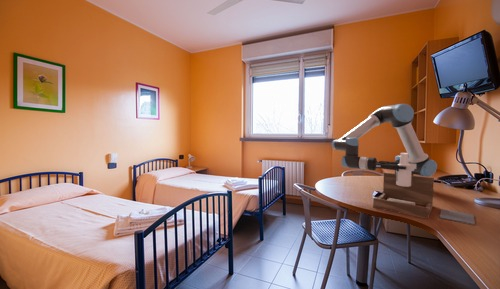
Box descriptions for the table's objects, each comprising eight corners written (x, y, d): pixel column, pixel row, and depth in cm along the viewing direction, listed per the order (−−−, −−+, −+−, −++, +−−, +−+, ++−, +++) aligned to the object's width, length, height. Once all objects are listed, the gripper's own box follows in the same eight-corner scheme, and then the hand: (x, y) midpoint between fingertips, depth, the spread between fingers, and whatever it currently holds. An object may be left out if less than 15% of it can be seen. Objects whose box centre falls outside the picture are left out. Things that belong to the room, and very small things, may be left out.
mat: (441, 210, 117) (441, 208, 117) (473, 215, 109) (473, 214, 109) (439, 218, 107) (439, 216, 107) (474, 225, 99) (474, 224, 99)
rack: (383, 197, 140) (384, 172, 138) (432, 206, 123) (433, 177, 122) (373, 207, 123) (373, 179, 122) (428, 218, 107) (429, 186, 105)
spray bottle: (407, 183, 125) (408, 152, 123) (413, 187, 118) (414, 153, 117) (394, 183, 126) (394, 152, 125) (398, 186, 120) (399, 153, 118)
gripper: (373, 167, 141) (417, 171, 125) (363, 172, 127) (412, 177, 111) (373, 155, 141) (418, 158, 125) (363, 159, 126) (412, 163, 111)
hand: (415, 167), depth 118 cm, fingers closed on spray bottle, 7 cm apart
